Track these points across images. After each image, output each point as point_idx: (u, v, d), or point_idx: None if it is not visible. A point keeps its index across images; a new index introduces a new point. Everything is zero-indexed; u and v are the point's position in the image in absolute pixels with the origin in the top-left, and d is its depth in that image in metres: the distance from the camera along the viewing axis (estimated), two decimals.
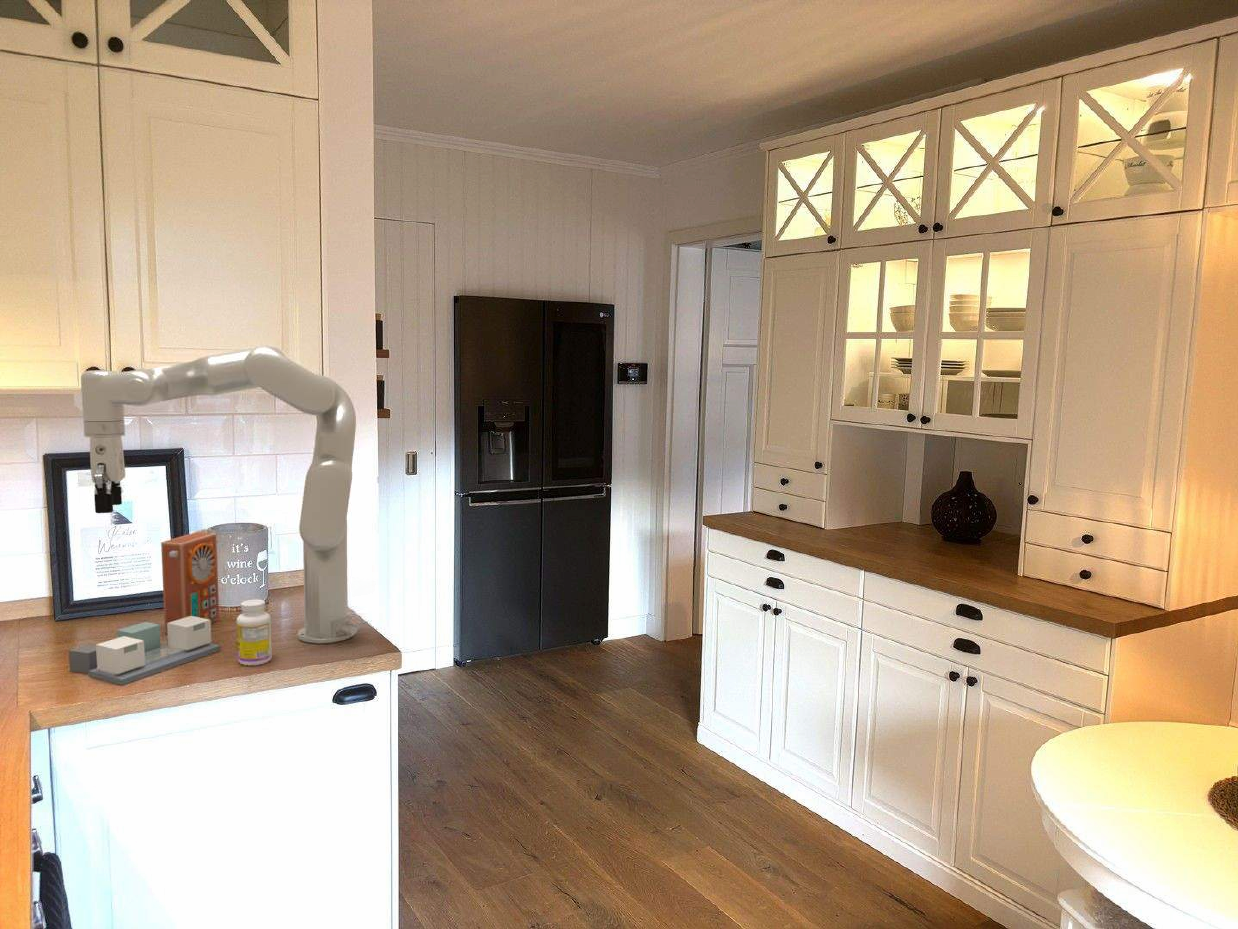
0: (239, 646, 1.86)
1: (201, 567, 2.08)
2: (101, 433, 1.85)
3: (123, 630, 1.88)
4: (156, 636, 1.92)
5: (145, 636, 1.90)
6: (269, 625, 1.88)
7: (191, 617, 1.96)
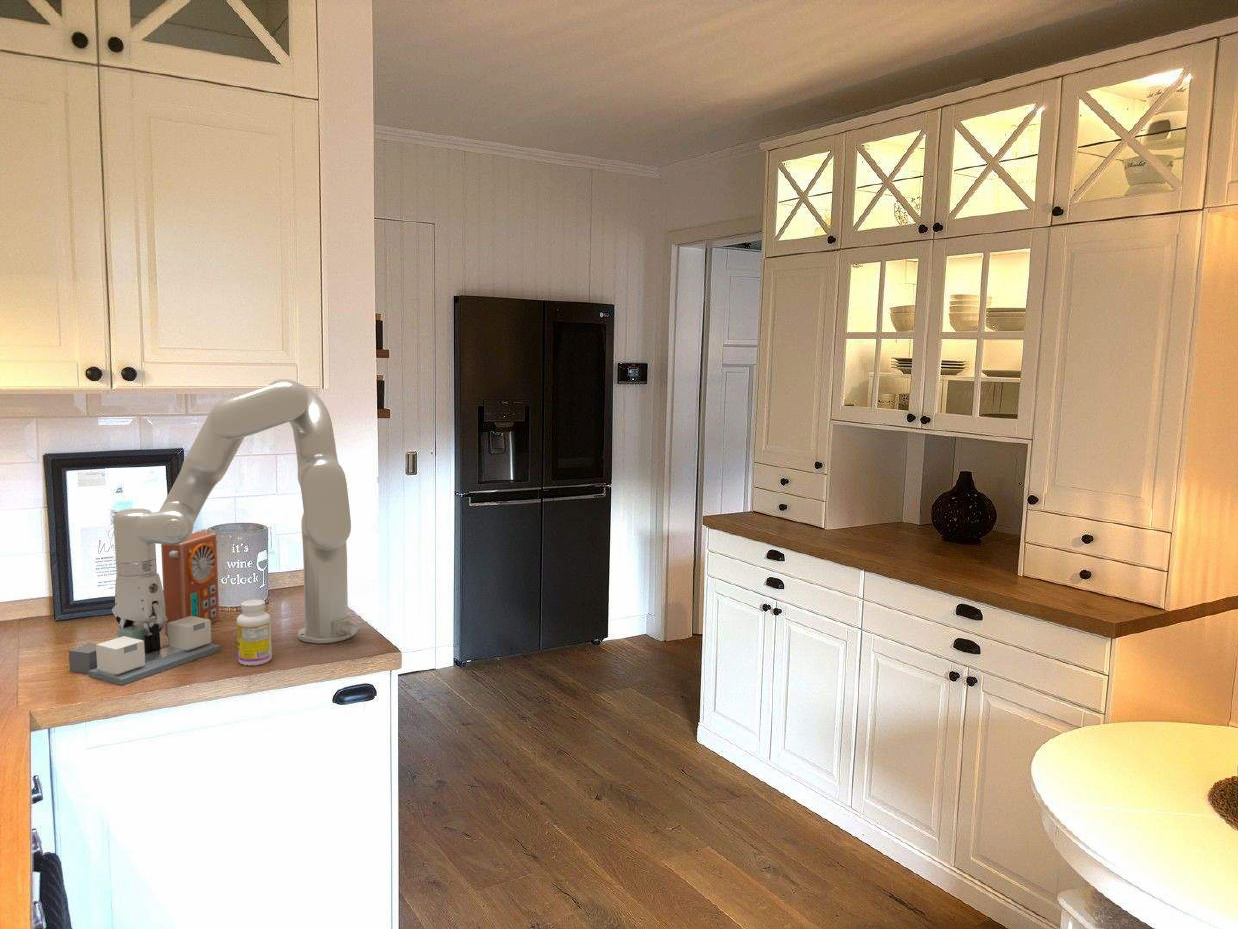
0: (239, 646, 1.86)
1: (201, 567, 2.08)
2: (149, 572, 1.87)
3: (123, 630, 1.88)
4: None
5: None
6: (269, 625, 1.88)
7: (191, 617, 1.96)
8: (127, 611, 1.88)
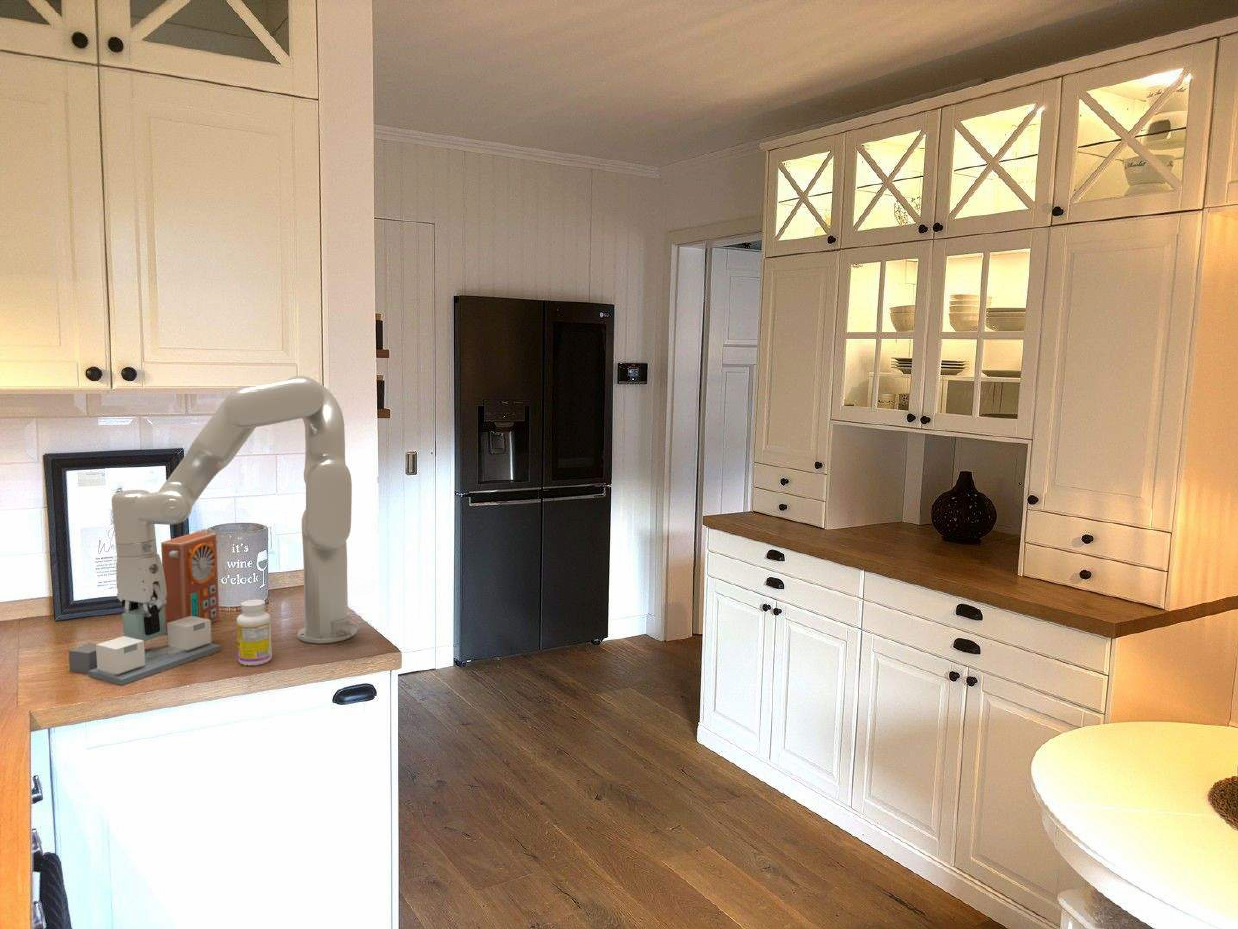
0: (239, 646, 1.86)
1: (201, 567, 2.08)
2: (149, 553, 1.87)
3: (127, 613, 1.88)
4: (161, 618, 1.92)
5: None
6: (269, 625, 1.88)
7: (191, 617, 1.96)
8: (129, 592, 1.88)
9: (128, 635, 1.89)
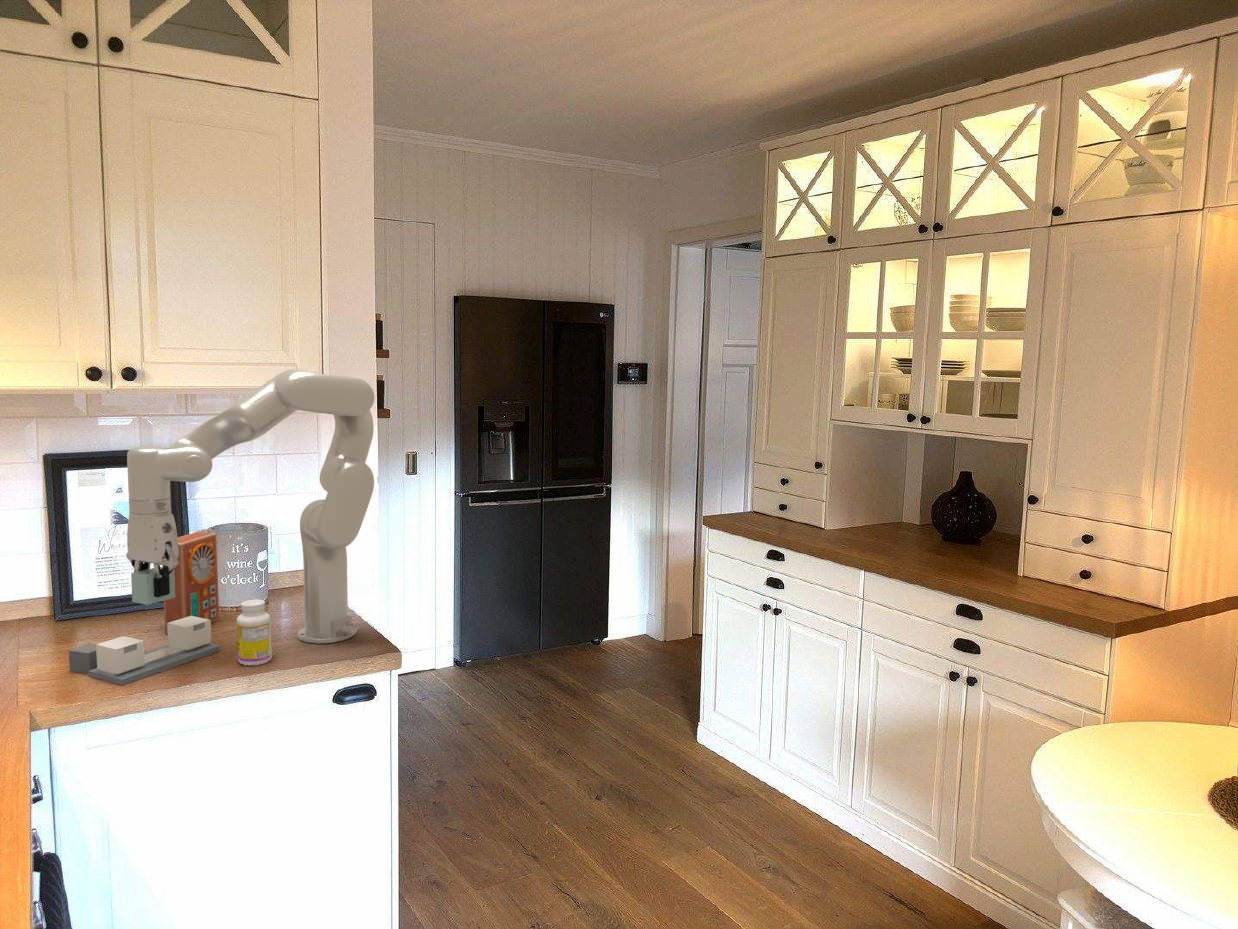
0: (239, 646, 1.86)
1: (201, 567, 2.08)
2: (163, 511, 1.81)
3: (137, 573, 1.82)
4: (171, 581, 1.85)
5: None
6: (269, 625, 1.88)
7: (191, 617, 1.96)
8: (139, 551, 1.81)
9: (136, 596, 1.82)
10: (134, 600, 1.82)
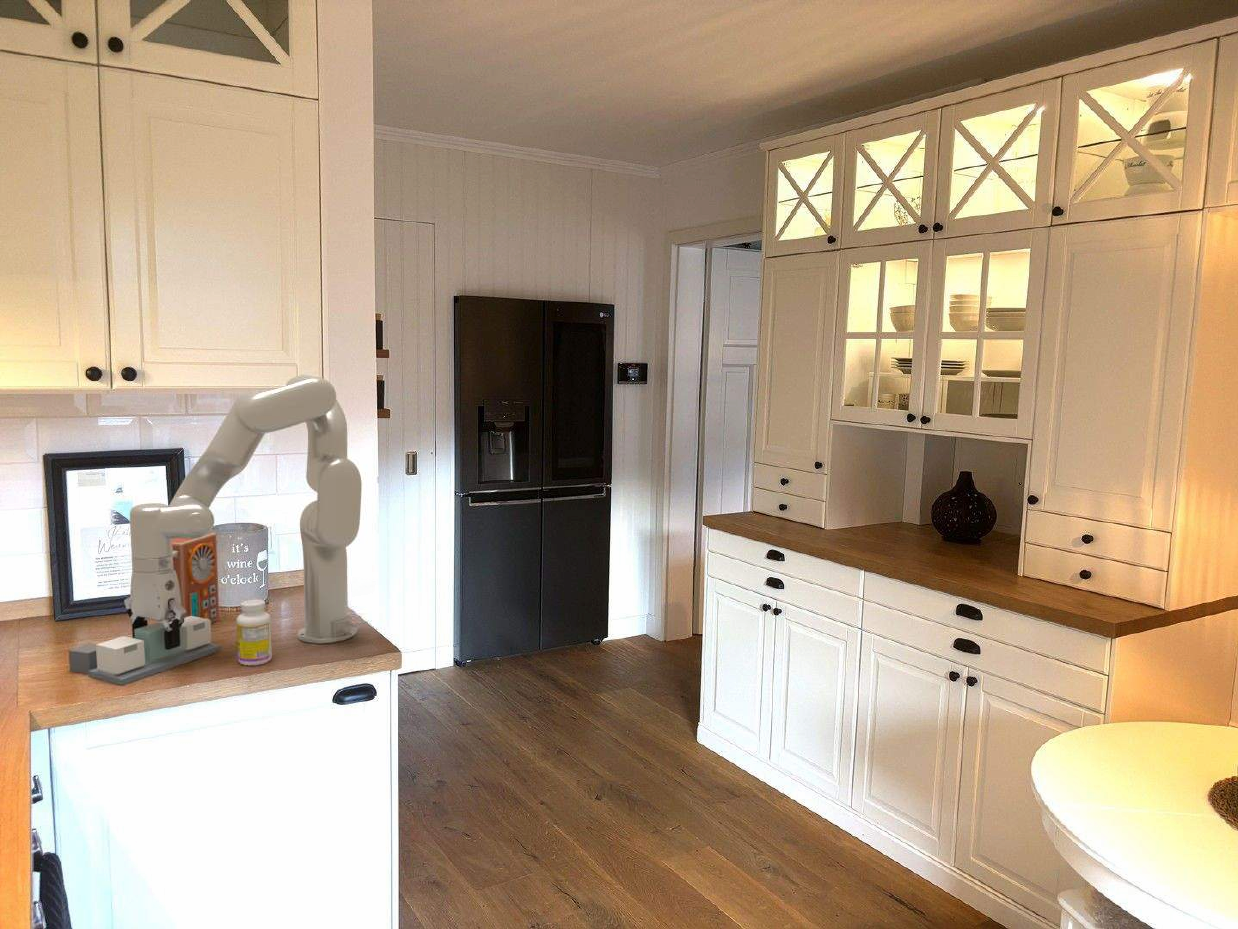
0: (239, 646, 1.86)
1: (201, 567, 2.08)
2: (165, 568, 1.82)
3: (140, 630, 1.83)
4: None
5: (162, 635, 1.84)
6: (269, 625, 1.88)
7: (191, 617, 1.96)
8: (143, 608, 1.83)
9: None
10: None
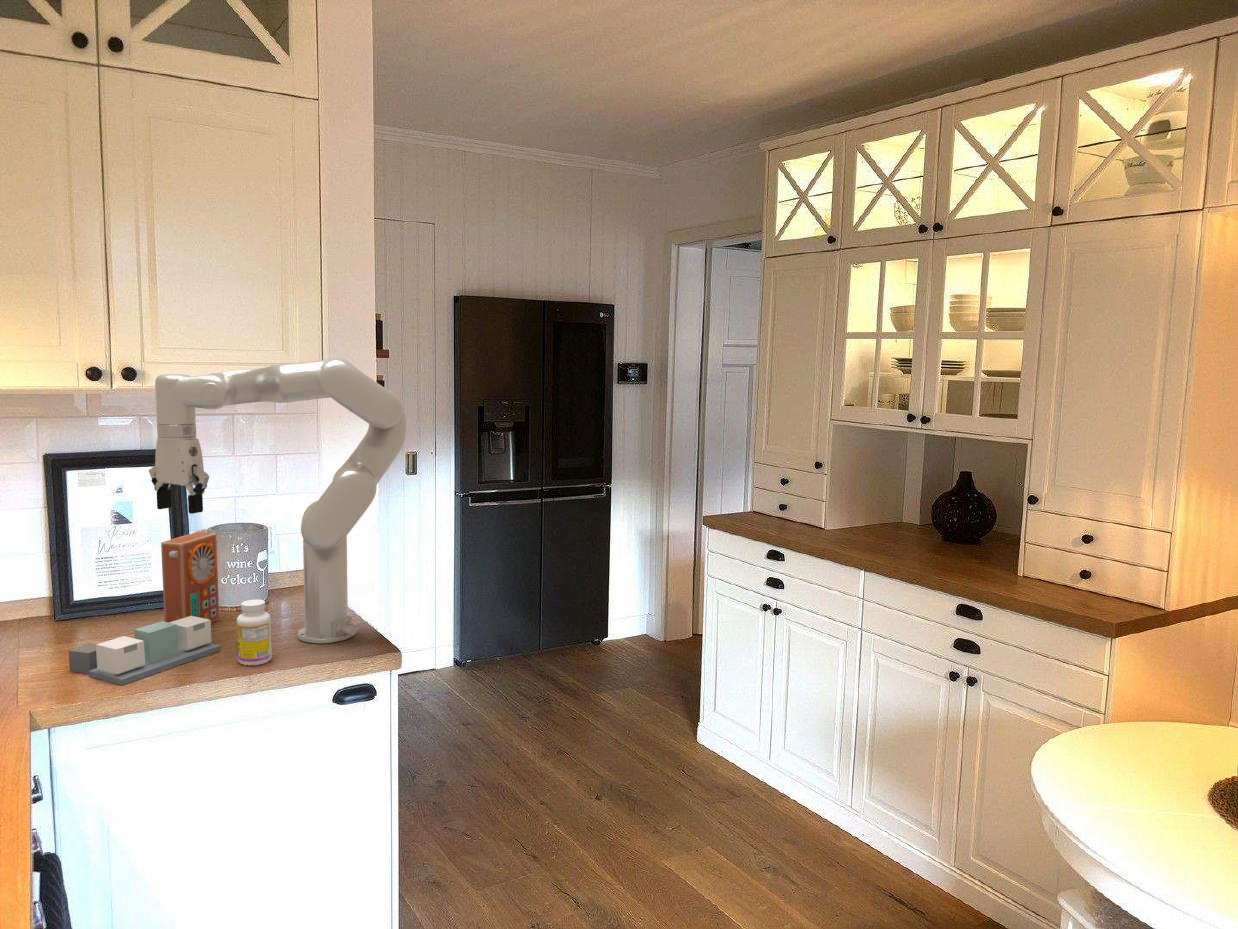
0: (239, 646, 1.86)
1: (201, 567, 2.08)
2: (189, 435, 1.90)
3: (140, 630, 1.83)
4: (173, 636, 1.87)
5: (162, 635, 1.84)
6: (269, 625, 1.88)
7: (191, 617, 1.96)
8: (167, 474, 1.91)
9: None
10: None
